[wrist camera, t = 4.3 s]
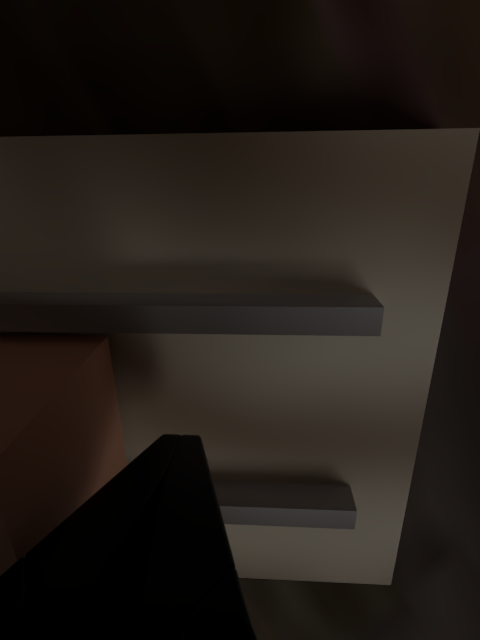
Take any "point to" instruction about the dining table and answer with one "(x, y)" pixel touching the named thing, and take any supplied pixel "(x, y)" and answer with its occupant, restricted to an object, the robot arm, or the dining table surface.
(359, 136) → the track board
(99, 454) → the terracotta cardboard box
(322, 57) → the dining table surface
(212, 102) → the dining table surface
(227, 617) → the robot arm
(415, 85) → the dining table surface
